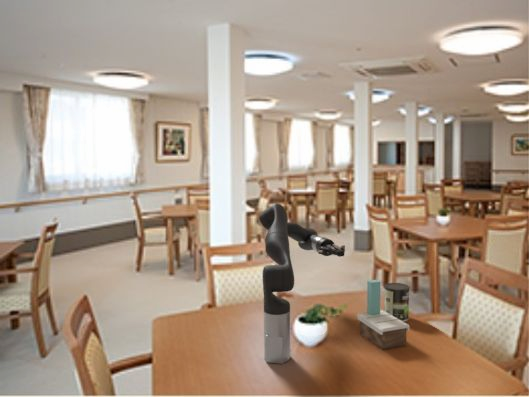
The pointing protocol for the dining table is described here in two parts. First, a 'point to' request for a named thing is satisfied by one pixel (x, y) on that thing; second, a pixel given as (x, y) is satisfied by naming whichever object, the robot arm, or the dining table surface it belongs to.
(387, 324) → the lid
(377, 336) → the tub
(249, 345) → the dining table surface
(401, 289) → the coffee can
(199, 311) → the dining table surface
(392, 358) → the dining table surface
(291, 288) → the robot arm
